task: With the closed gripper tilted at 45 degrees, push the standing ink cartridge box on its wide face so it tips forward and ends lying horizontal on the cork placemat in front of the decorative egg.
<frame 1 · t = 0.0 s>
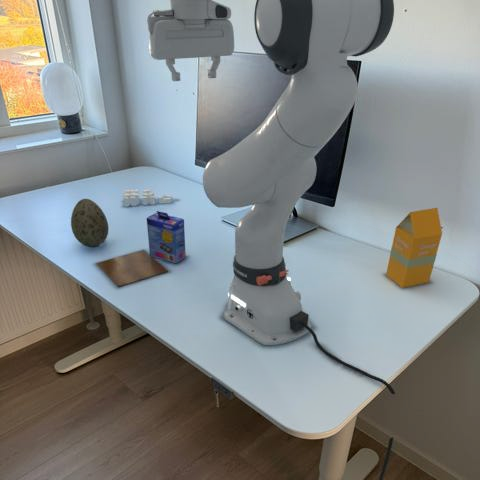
hand: (194, 79, 110), 48 cm above the table, tool pointing down, fingers open, 8 cm apart
ink cartridge box: (167, 257, 138), on the table, touching placemat
placemat: (131, 267, 133), on the table
modular blocks: (147, 202, 176), on the table
orange juice: (407, 279, 128), on the table
decorative egg: (94, 246, 145), on the table
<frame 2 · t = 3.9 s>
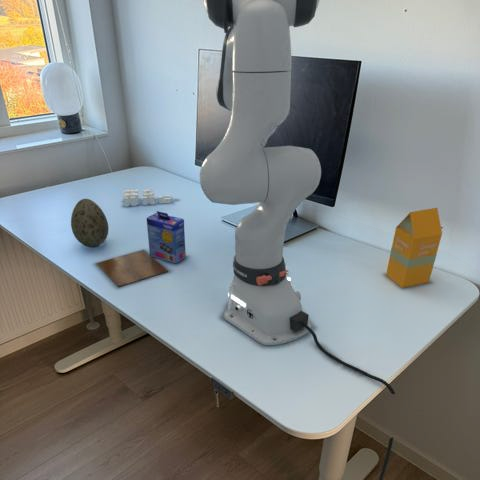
hand: (220, 183, 137), 19 cm above the table, tool tilted 45°, fingers closed
nothing on the table moved.
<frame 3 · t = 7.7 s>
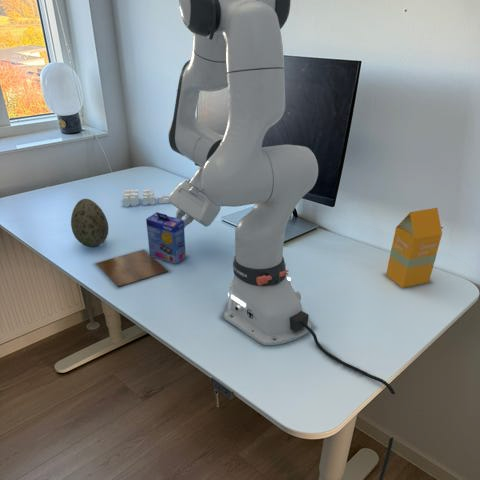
hand: (177, 226, 135), 9 cm above the table, tool tilted 45°, fingers closed
ink cartridge box: (167, 257, 138), on the table, touching gripper, placemat
everything else where it was.
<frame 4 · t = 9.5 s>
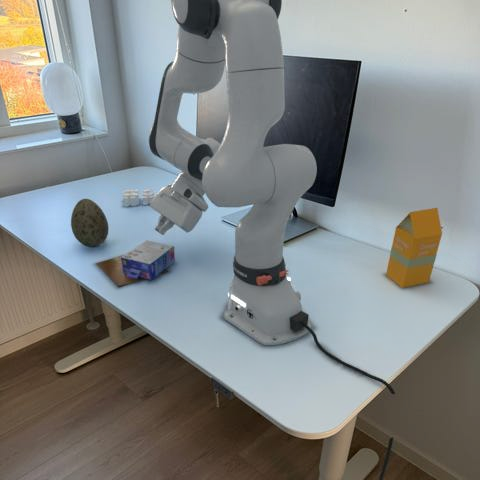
hand: (158, 232, 132), 9 cm above the table, tool tilted 45°, fingers closed
ink cartridge box: (161, 250, 135), point 3 cm above the table, touching placemat
everything else where it was.
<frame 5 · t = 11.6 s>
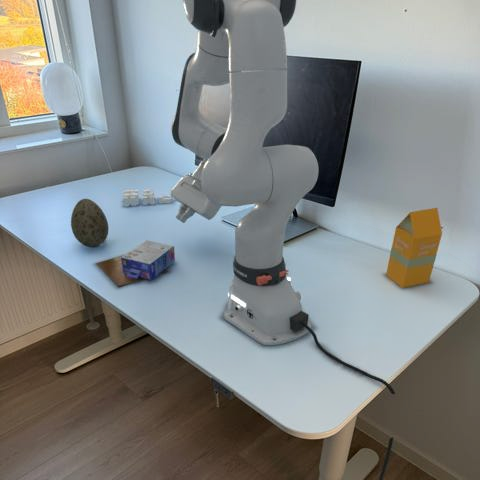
hand: (179, 220, 135), 11 cm above the table, tool tilted 45°, fingers closed
nothing on the table moved.
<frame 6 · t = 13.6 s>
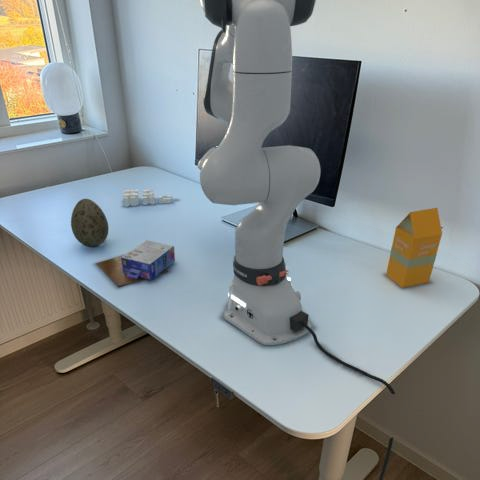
hand: (207, 191, 135), 17 cm above the table, tool tilted 45°, fingers closed
nothing on the table moved.
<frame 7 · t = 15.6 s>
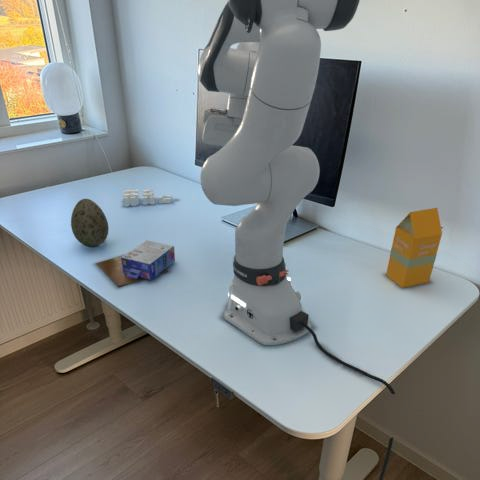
hand: (235, 166, 128), 26 cm above the table, tool tilted 15°, fingers closed
nothing on the table moved.
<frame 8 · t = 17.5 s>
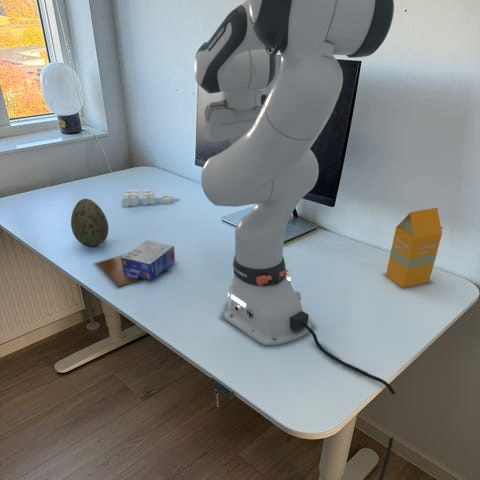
hand: (239, 154, 125), 29 cm above the table, tool pointing down, fingers closed
nothing on the table moved.
at the end: ink cartridge box tilted 89°; ink cartridge box touching placemat; ink cartridge box inside the target area (1.7 cm from its centre), point 3.0 cm above the table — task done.
